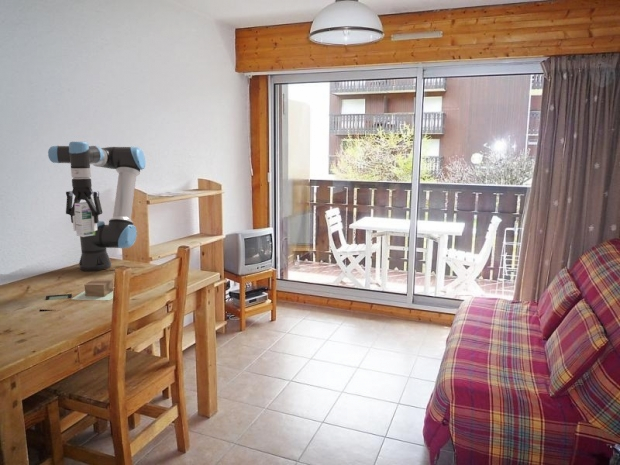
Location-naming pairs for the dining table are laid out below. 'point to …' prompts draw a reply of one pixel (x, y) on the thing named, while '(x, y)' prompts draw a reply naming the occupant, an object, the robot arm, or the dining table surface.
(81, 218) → the syrup box
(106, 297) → the plate
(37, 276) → the dining table surface
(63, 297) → the calculator
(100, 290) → the walnut block
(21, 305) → the dining table surface
